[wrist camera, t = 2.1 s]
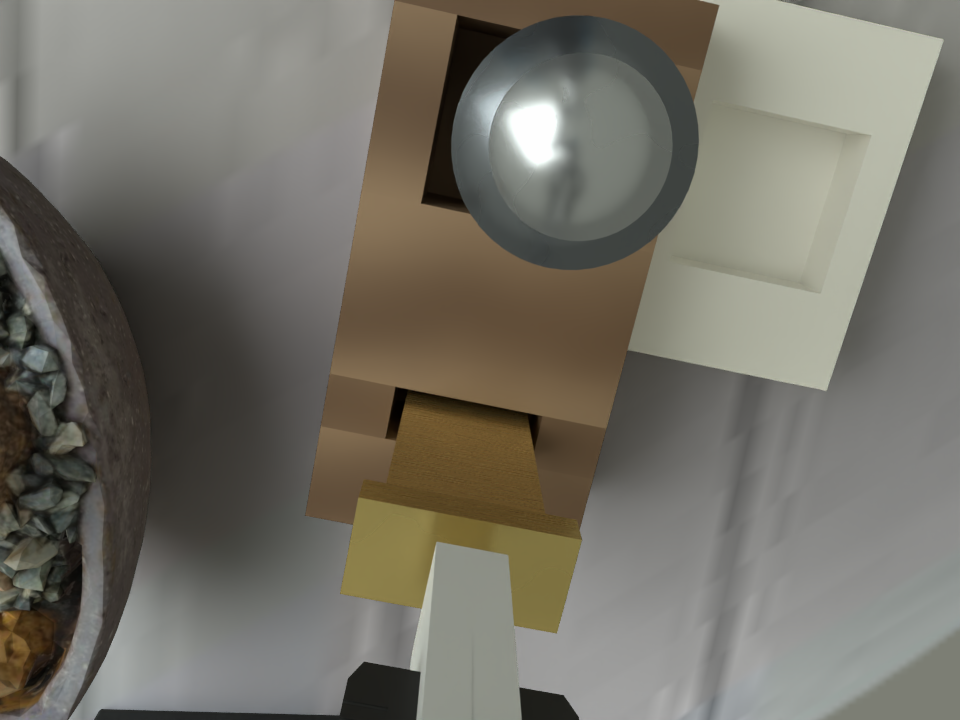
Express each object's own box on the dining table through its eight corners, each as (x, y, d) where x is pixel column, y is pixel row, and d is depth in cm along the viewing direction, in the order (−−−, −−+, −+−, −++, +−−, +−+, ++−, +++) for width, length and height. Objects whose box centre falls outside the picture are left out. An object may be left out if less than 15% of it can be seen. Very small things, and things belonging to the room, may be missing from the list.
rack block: (680, -6, 30) (702, -18, 27) (900, 46, 31) (944, 39, 28) (596, 325, 34) (607, 345, 31) (796, 367, 34) (826, 391, 31)
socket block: (419, -34, 30) (406, -68, 24) (672, 25, 31) (719, 4, 25) (333, 448, 35) (305, 515, 29) (554, 491, 35) (569, 565, 30)
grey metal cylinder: (475, 54, 29) (480, -18, 13) (593, 81, 29) (743, 42, 13) (451, 175, 30) (427, 249, 14) (565, 200, 30) (672, 301, 14)
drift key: (396, 368, 29) (358, 497, 19) (545, 398, 29) (581, 539, 19) (383, 436, 29) (340, 593, 20) (529, 464, 30) (556, 633, 20)
